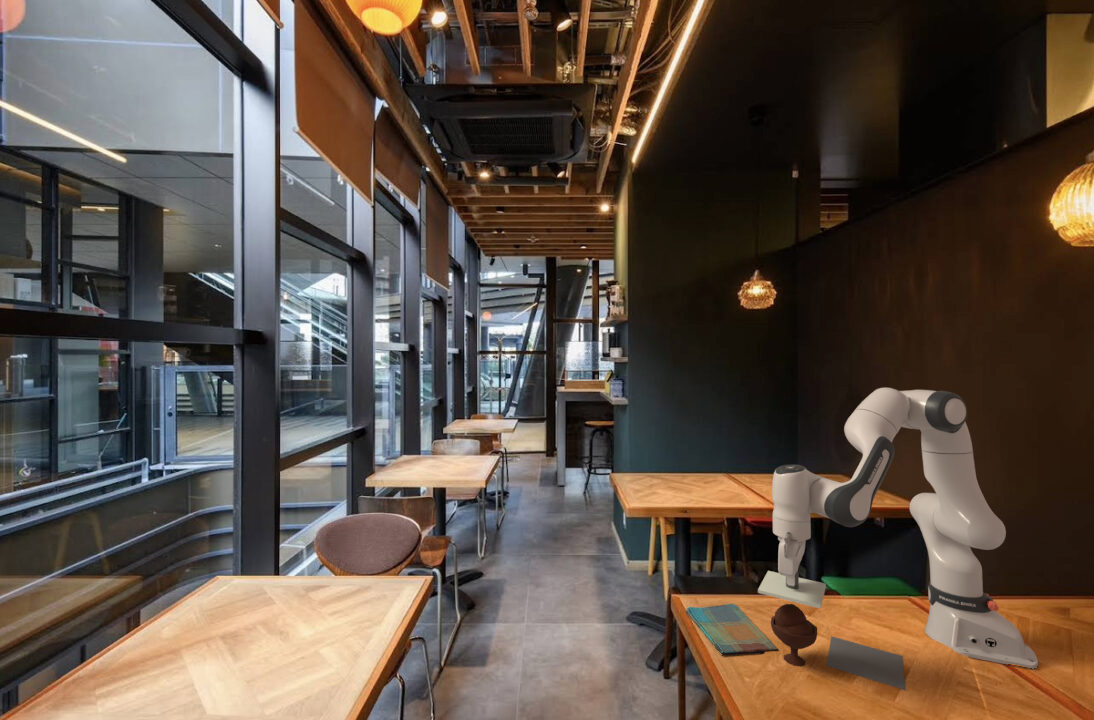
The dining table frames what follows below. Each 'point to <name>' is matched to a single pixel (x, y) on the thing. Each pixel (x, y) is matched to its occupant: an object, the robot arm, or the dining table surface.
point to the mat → (867, 662)
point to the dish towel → (730, 630)
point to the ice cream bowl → (793, 631)
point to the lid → (793, 589)
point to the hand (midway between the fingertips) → (792, 581)
